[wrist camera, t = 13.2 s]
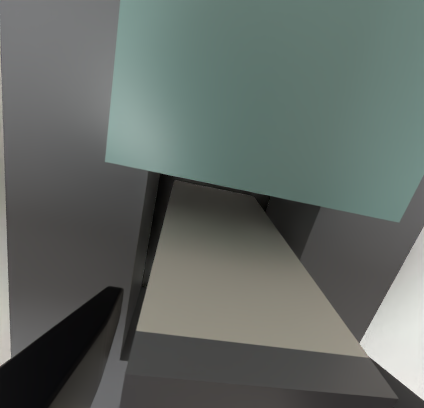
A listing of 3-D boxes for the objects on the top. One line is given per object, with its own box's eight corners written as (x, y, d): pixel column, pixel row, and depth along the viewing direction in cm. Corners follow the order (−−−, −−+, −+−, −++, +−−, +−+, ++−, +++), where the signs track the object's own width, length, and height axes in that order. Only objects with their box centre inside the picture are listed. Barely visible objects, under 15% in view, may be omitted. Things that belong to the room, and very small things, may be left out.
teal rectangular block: (345, 193, 7) (399, 222, 5) (131, 147, 6) (104, 162, 4) (484, -138, 5) (662, -289, 3) (184, -280, 4) (178, -612, 2)
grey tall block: (253, 196, 11) (399, 399, 3) (228, 276, 13) (290, 553, 5) (174, 179, 11) (124, 373, 3) (158, 265, 12) (93, 557, 4)
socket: (278, 355, 15) (307, 437, 11) (64, 331, 13) (13, 418, 9) (431, -6, 9) (594, -86, 5) (89, -130, 8) (-14, -372, 4)
